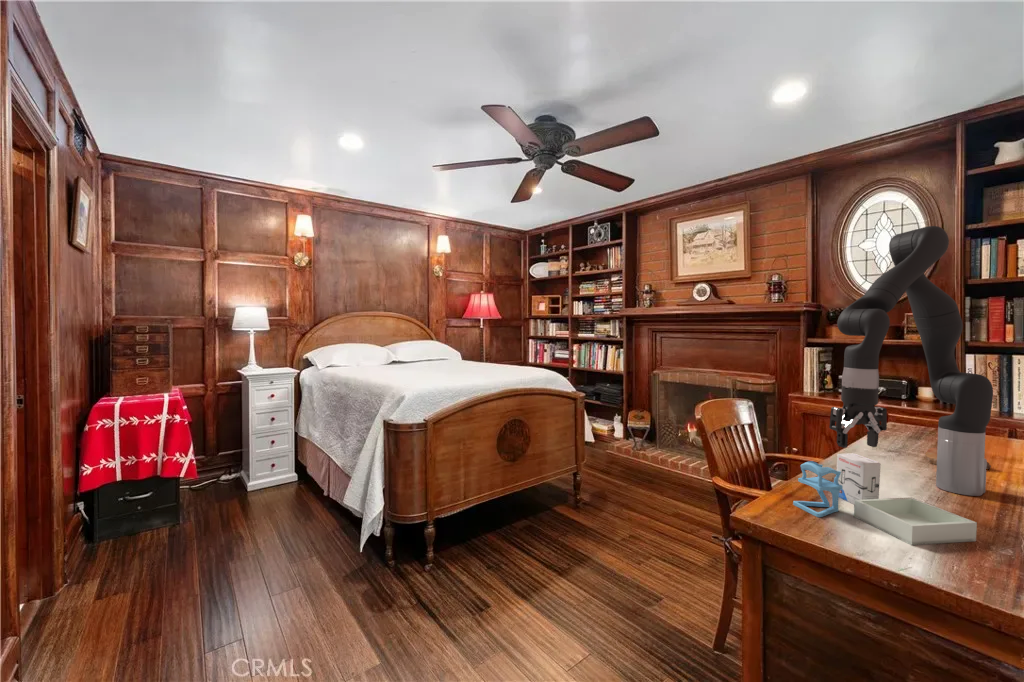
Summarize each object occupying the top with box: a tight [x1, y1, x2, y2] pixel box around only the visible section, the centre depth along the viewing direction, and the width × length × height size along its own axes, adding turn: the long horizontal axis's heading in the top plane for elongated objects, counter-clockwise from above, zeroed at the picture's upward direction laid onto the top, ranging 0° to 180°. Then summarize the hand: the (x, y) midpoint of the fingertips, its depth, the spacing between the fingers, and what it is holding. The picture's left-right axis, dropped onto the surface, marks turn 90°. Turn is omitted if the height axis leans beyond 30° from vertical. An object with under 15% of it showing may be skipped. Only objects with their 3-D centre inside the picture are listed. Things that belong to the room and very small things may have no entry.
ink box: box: [836, 452, 882, 505], centre depth 114 cm, size 9×5×12 cm, turn 5°
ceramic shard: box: [924, 446, 992, 470], centre depth 146 cm, size 15×6×15 cm
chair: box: [792, 460, 843, 518], centre depth 109 cm, size 8×8×12 cm
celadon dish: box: [853, 496, 978, 546], centre depth 99 cm, size 16×14×4 cm
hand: (857, 446), depth 114 cm, fingers open, 8 cm apart
